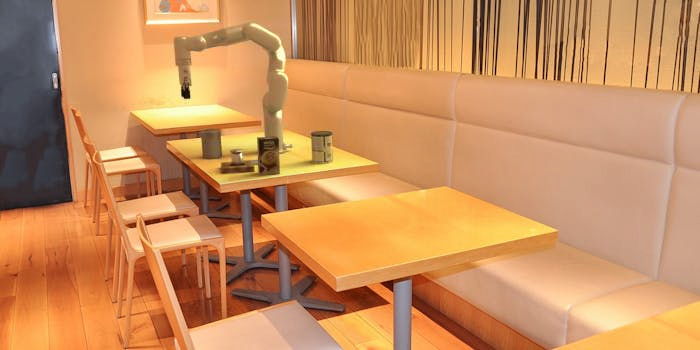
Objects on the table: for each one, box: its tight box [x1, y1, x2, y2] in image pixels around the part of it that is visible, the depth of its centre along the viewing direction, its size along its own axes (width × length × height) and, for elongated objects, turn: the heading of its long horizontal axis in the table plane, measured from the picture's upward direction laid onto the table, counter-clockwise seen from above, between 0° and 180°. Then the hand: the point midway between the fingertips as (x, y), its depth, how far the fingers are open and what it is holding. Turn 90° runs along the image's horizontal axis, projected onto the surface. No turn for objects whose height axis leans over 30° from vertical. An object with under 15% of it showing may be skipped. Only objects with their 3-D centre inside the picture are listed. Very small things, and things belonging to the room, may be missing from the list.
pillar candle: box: [200, 127, 223, 160], centre depth 319 cm, size 10×10×15 cm
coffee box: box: [256, 136, 281, 176], centre depth 282 cm, size 9×6×16 cm
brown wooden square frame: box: [220, 161, 255, 175], centre depth 292 cm, size 14×14×2 cm
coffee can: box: [310, 130, 334, 164], centre depth 306 cm, size 10×10×14 cm
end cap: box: [229, 148, 244, 166], centre depth 291 cm, size 6×6×9 cm
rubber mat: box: [243, 159, 258, 166], centre depth 306 cm, size 10×10×1 cm
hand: (185, 97), depth 312 cm, fingers open, 9 cm apart
